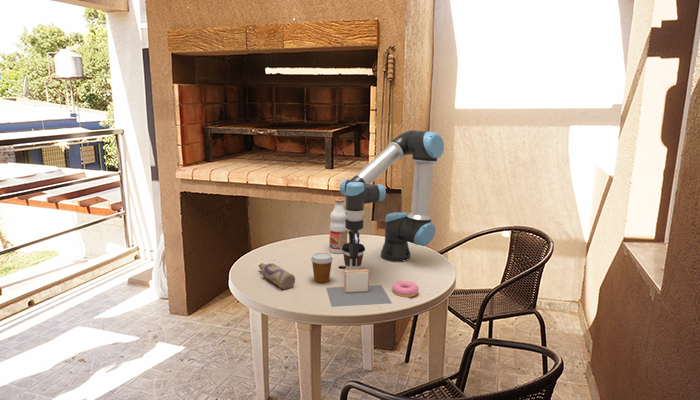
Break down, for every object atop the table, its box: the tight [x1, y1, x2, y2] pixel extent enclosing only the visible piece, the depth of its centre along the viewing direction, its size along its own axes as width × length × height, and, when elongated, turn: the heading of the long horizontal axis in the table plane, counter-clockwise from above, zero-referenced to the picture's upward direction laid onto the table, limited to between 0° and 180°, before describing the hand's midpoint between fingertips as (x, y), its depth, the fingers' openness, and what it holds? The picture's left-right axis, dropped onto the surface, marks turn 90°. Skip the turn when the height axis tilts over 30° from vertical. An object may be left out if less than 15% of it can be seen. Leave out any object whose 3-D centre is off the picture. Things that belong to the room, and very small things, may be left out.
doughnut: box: [391, 280, 419, 298], centre depth 187 cm, size 11×11×4 cm
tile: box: [343, 268, 370, 293], centre depth 186 cm, size 10×2×9 cm, turn 100°
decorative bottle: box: [258, 262, 296, 290], centre depth 198 cm, size 26×8×7 cm, turn 37°
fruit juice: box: [329, 198, 349, 255], centre depth 235 cm, size 9×9×28 cm
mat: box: [325, 284, 393, 308], centre depth 183 cm, size 24×18×1 cm
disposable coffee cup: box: [310, 252, 334, 284], centre depth 196 cm, size 10×10×12 cm
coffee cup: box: [342, 242, 366, 270], centre depth 210 cm, size 11×11×12 cm
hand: (353, 272), depth 193 cm, fingers closed
